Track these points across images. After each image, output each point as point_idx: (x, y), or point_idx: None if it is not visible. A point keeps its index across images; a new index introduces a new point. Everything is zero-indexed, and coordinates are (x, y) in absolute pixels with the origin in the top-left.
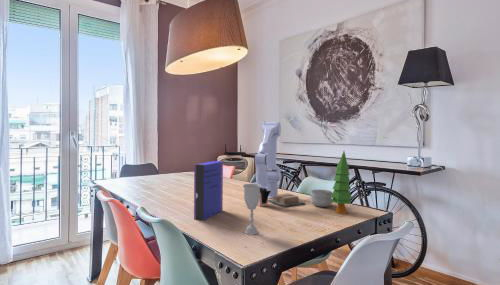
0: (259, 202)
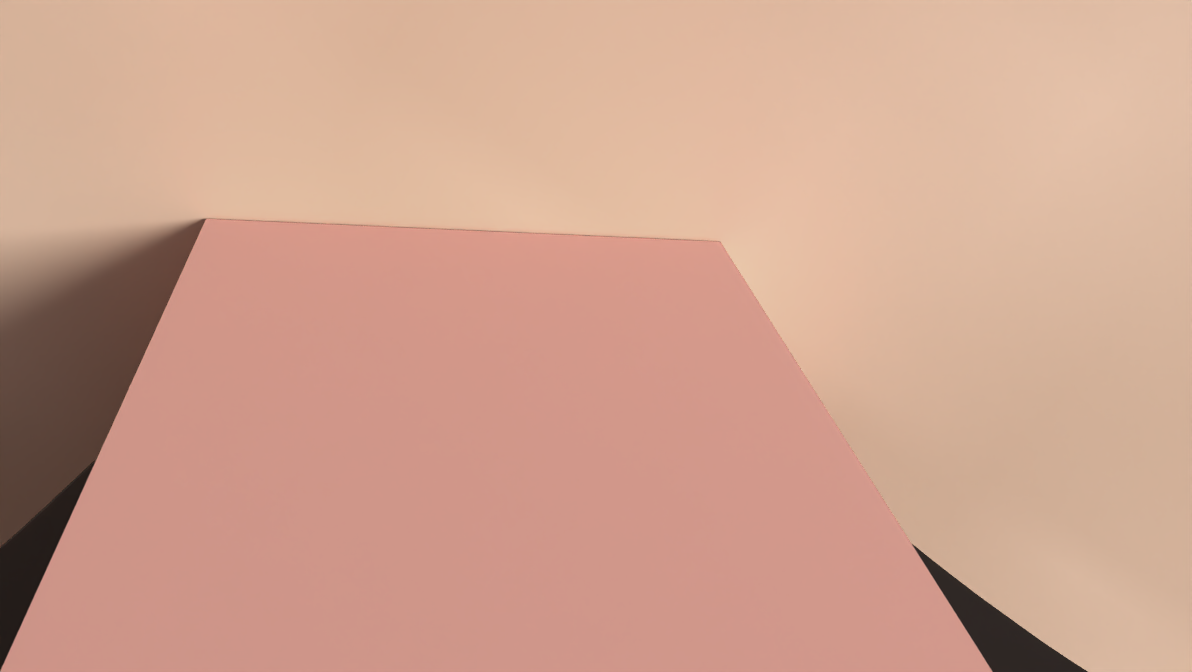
0: (213, 319)
